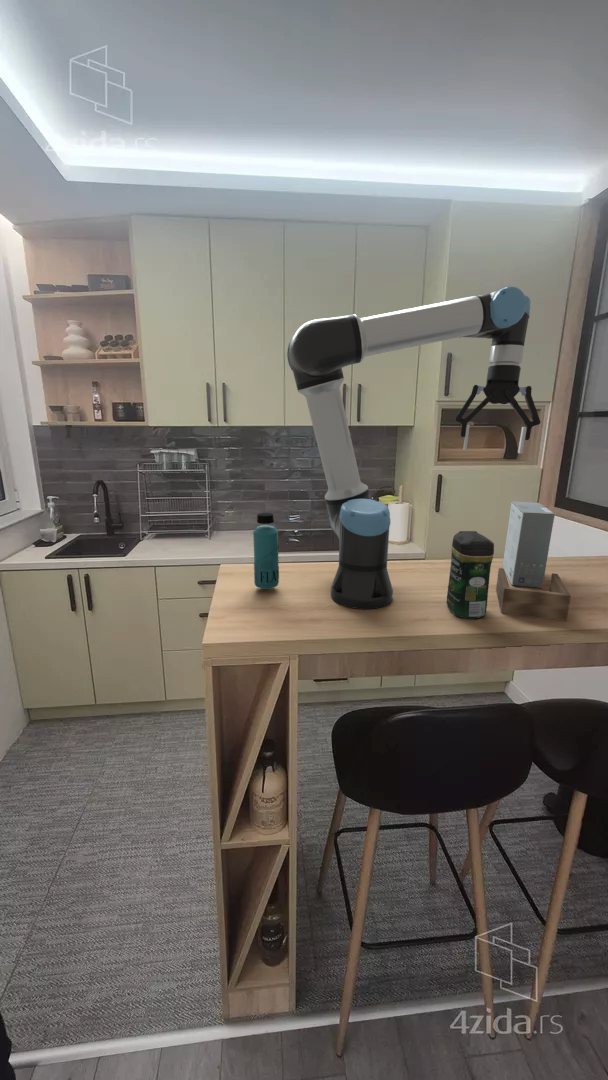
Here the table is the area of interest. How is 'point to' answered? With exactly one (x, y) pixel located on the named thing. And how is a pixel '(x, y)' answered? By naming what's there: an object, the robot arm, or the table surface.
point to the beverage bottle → (266, 553)
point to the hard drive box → (527, 543)
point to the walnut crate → (533, 599)
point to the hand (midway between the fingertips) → (492, 451)
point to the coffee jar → (469, 574)
